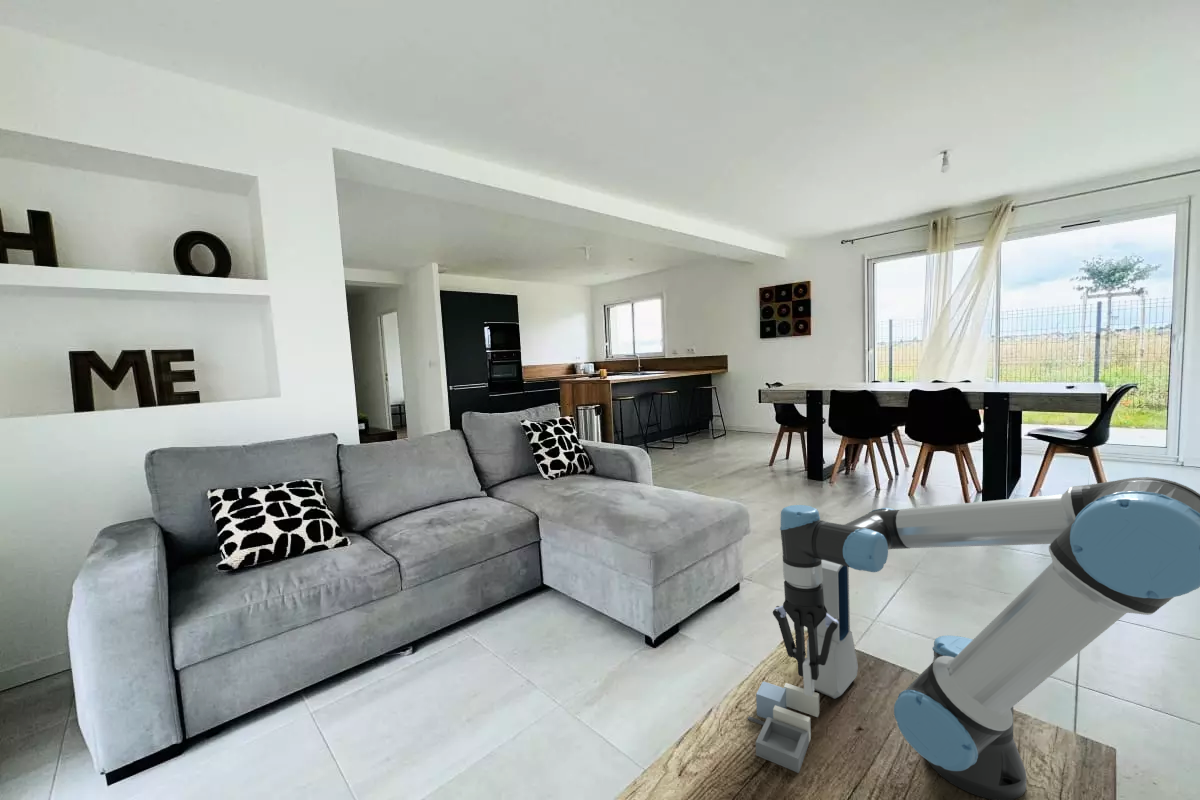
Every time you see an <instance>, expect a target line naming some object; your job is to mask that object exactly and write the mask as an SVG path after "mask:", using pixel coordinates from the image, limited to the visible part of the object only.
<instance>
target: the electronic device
mask: <svg viewBox="0 0 1200 800" xmlns="http://www.w3.org/2000/svg"><path fill="white" fill-rule="evenodd" d="M849 568H850V567H847V566H844V565H840V564H836V563H833V562H829V561H825V560H822V576H823V581H822V584H823V593H824V605H825V607H826V609H827V613H828V614H829V615H830V616H832V617H833V618H835V617H836V618H838V619H839V624H838V627H837V628H836V630H835V631H834V633H833V637H832V641H831V646H830V650H829V655H828V659H827V661H826V664H825V665H821V664H820V665H818V666H819V676H818V679H817V680H814V684H815V690H814V691H817V693H818V692H819V693H821V694H823V695H825V696H827V697H830V698H832V699H837V698H839V697H841V696H842V695H843V694H844V692H846V690H847V689H848V688H849V686H851V684H852V682H854V680H855V679H856V678H857V675H858V670H859V664H858V659H857V653H856V648H855V642H854V636H853V632H852V631H851V621H850V620H851V619H850V618H851V616H850V615H851V614H850V610H851V609H850V577H849V576H850V573H849V572H850V569H849ZM825 622H826V621H825V619H823V620H822V622H821V623H820V624H819V625H818V626H817V640H818V655H821V650H822V646H823V641H824V637H825V633H826V630H827V627H826V625H825ZM806 658H809V659H810V656H809V640H808V639H807V640H806Z"/></svg>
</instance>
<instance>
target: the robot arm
mask: <svg viewBox="0 0 1200 800" xmlns="http://www.w3.org/2000/svg"><path fill="white" fill-rule="evenodd" d="M779 530H780V538H781V547H782V573H783V579H784V581H783V584H784V585H783V587H784V589H783V590H784V602H783V603H782V605H781V606H780V605H777V606H775V608H774V610H772V615H773V616H774V618H775V619H776V621H777V623H778V627H779V629H780V633H781V636H782V639H783V643H784V646H785V650H786V654H787V656H788V657H789V658H794V659H795V660H796V662H797V674H798V676H799V677H802V678H803V689H804V695H807V696H811V697H812V695H813V693H814V692H815V691H816V690H815V684H814V680H817V679H818V676H819V666H818V665H820V664H821V665H825V664H826V661H827V659H828V655H829V650H830V646H831V641H832V637H833V633H834V631H835V630H836V628H837V627H838V624H839V619H838V618H836V617H835V618H833V617H832V616H830V615H829V614H828V613H827V609H826V607H825V605H824V593H823V584H822V581H823V576H822V560H825V561H829V562H833V563H836V564H840V565H844V566H847V567H849V568H851V569H853V570H856V571H862V572H863V571H864V572H870V573H878V572H881V570H883V568H884V565H885V564H886V563H887V560H888V556H889V550H904V549H905V550H906V549H925V548H928V549H929V548H932V549H933V548H961V547H966V548H967V547H990V546H991V547H992V546H993V547H994V546H996V547H997V546H1026V545H1029V546H1030V545H1032V546H1033V545H1048V553H1049V555H1050V558H1051V560H1052V562H1051V563H1050V564H1048V565H1047V567H1046V568H1045V569H1044V570H1043V571H1042V572H1041V573H1040V574H1039V575H1038V576H1037V577H1035V579H1033V581H1031V582H1030V583H1029V584H1028V585H1027V586H1026V587H1025V588H1024V589H1023V591H1022V592H1020V593H1019V594H1018V595H1017V596H1016V597H1015V598H1014V599H1013V600H1012V601H1011V602H1010V603H1009V604H1008V605H1007V606H1006V607H1005V608H1004V609H1003V610H1002V611H1001V612H1000V613H999V614H998V615H997V616H995V617H994V619H992V621H990V623H988V625H986V626H985V627H984V628H983V629H982V631H981V632H979V633H978V634H977V635H976V636H975V637H974V638H969V637H966V636H965V637H964V636H958V635H941V636H938V637H936V638H935V640H934V642H933V646H932V651H933V660H932V662H931V663H930V664H929V666H928V667H926V669H924V670H923V671H922V672H921V673H920V674H919V675H918V677H916V678H915V679H914V680H913V682H912V683H910V685H909V686H907V688H906V689H903V690H902V691H901V692H899V693H898V696H897V699H896V700H895V702H894V706H893V715H894V718H895V721H896V722H897V725H896V726H897V727H898V729H899V731H900V733H901V734H902V736H903V738H905V741H906V742H907V743H908V744H909V745H910V746H911V747H912V749H914V751H915V752H916V753H918V755H920V756H921V757H922V758H923V759H925V760H927V762H928V763H929V766H931V767H932V768H933V770H934V771H935V772H936V773H937V774H939V776H941V777H942V778H943V779H944V780H945V781H947V782H949V783H950V784H952V785H953V786H955V787H957V788H959V789H961V790H963V791H965V792H967V793H970V794H972V795H974V796H976V797H980V798H982V799H983V798H984V799H987V800H1017V799H1019V798H1020V797H1022V796H1023V795H1024V794H1025V792H1026V790H1027V772H1026V769H1025V768H1026V767H1025V766H1024V762H1023V760H1022V757H1021V756H1020V752H1019V750H1018V747H1017V745H1016V742H1015V740H1014V706H1015V705H1017V704H1018V703H1019V702H1020V701H1022V700H1024V698H1025V697H1026V696H1028V695H1029V694H1030V693H1032V691H1034V690H1035V689H1036V688H1038V686H1040V685H1041V684H1043V683H1044V681H1046V680H1047V679H1048V678H1050V677H1051V676H1052V675H1053V674H1055V673H1056V672H1057V671H1058V670H1059V669H1061V668H1062V667H1063V666H1064V665H1065V664H1067V663H1068V662H1069V661H1070V660H1072V658H1075V656H1077V654H1079V653H1080V652H1081V651H1082V650H1084V649H1085V648H1086V647H1087V646H1089V645H1090V644H1091V643H1092V642H1093V641H1095V640H1096V639H1097V638H1099V636H1101V635H1102V634H1103V633H1104V632H1105V631H1106V630H1108V629H1109V628H1110V627H1111V626H1112V625H1114V624H1115V623H1117V621H1119V620H1120V619H1122V618H1123V617H1124V616H1125V615H1126V614H1136V615H1138V614H1139V615H1144V616H1149V615H1153V614H1155V613H1156V612H1157V611H1158V610H1159V609H1161V608H1162V607H1163V606H1165V605H1166V604H1168V603H1169V602H1170V601H1171V600H1172V599H1174V598H1175V597H1180V596H1184V595H1186V594H1189V593H1192V592H1193V591H1195V590H1198V589H1199V588H1200V493H1199V492H1197V491H1196V490H1194V489H1192V488H1191V487H1189V486H1187V485H1184V484H1181V483H1179V482H1176V481H1174V480H1169V479H1164V478H1157V477H1149V476H1142V477H1129V478H1123V479H1117V480H1112V481H1111V480H1110V481H1106V482H1105V481H1104V482H1099V483H1093V484H1092V483H1091V484H1085V485H1074V486H1073V485H1072V486H1070V487H1069V488H1068V489H1067V490H1066V491H1065V492H1064V493H1062V494H1061V493H1060V494H1058V493H1057V494H1048V495H1039V496H1038V495H1037V496H1029V497H1017V498H1007V499H996V500H987V501H986V500H985V501H974V502H964V503H954V504H944V505H943V504H942V505H933V506H931V505H930V506H923V507H920V506H919V507H912V508H902V509H894V508H892V507H891V508H890V507H881V508H877V509H876V508H875V509H873V510H871V511H870V512H867V513H866V514H864V515H862V516H860V517H858V518H856V519H854V520H852V521H850V522H847V523H845V524H841V523H836V522H835V523H834V522H830V521H826V520H821V516H820V512H819V510H818V509H817V508H816V507H813V506H812V505H803V504H794V505H788V506H784V507H783V508H782V509H781V510H780V526H779ZM787 615H788V617H789V618H790V620H792V622H793V628H794V633H795V634H794V637H795V639H794V637H793V633H792V630H791V627H790V624H789V621H788V617H787ZM823 619H825V621H826V622H825V625H826V627H827V630H826V633H825V637H824V641H823V646H822V650H821V655H818V640H817V626H818V625H819V624H820V623H821V622H822V620H823ZM805 627H806V631H807V634H808V635H807V640H809V656H810V659H809V658H807V657H806V656H807V652H806V644H805V642H806V640H805V638H806V637H805ZM794 640H795V641H794Z"/></svg>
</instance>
